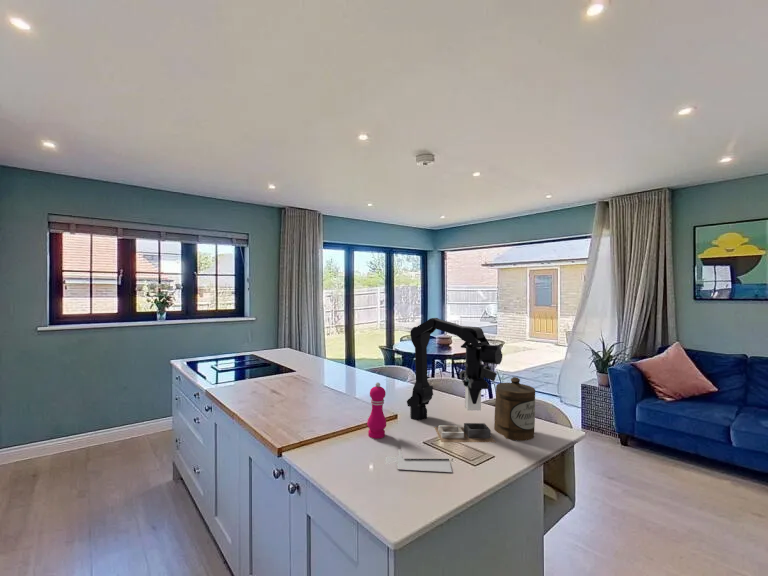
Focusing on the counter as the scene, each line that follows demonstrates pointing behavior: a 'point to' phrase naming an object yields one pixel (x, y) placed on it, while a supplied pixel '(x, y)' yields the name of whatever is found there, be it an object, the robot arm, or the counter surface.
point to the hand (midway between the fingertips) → (472, 402)
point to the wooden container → (515, 410)
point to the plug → (469, 403)
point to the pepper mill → (377, 413)
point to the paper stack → (419, 463)
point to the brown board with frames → (465, 433)
